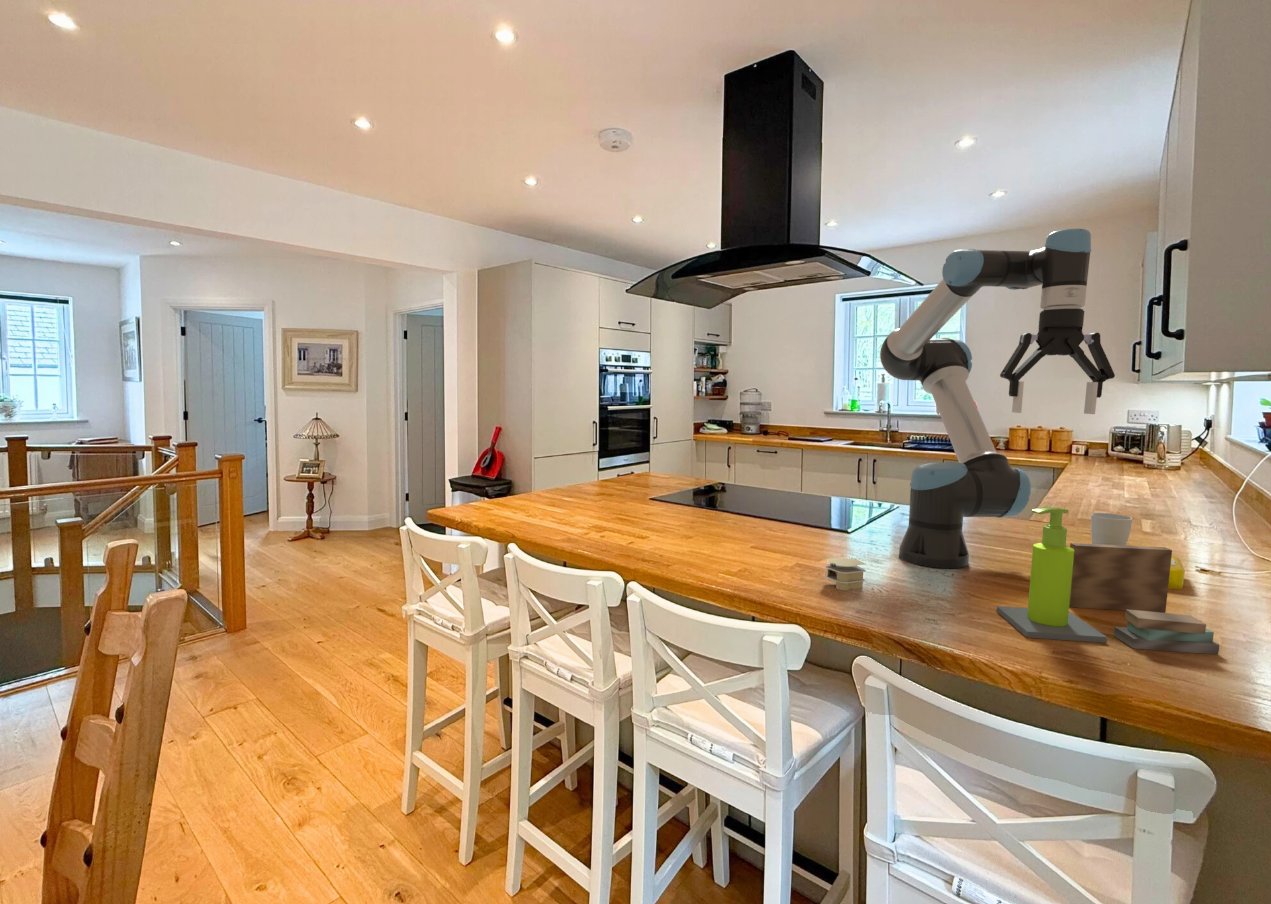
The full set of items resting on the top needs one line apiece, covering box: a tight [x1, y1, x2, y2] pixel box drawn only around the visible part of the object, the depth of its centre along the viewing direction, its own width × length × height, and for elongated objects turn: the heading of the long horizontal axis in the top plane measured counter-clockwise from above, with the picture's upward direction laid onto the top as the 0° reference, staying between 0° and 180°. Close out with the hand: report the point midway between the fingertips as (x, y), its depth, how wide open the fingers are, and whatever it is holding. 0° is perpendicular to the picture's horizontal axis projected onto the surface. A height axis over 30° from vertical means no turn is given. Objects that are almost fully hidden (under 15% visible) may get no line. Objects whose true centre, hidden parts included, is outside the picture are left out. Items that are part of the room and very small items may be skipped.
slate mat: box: [995, 605, 1108, 644], centre depth 106 cm, size 12×12×1 cm
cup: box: [1090, 512, 1133, 546], centre depth 151 cm, size 8×8×10 cm
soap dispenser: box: [1027, 506, 1074, 626], centre depth 105 cm, size 6×7×20 cm
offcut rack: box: [1069, 542, 1220, 655], centre depth 107 cm, size 16×25×12 cm, turn 170°
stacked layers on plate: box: [825, 557, 867, 591], centre depth 126 cm, size 10×9×6 cm
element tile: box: [1168, 555, 1186, 590], centre depth 135 cm, size 15×15×5 cm
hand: (1052, 413), depth 126 cm, fingers open, 13 cm apart
